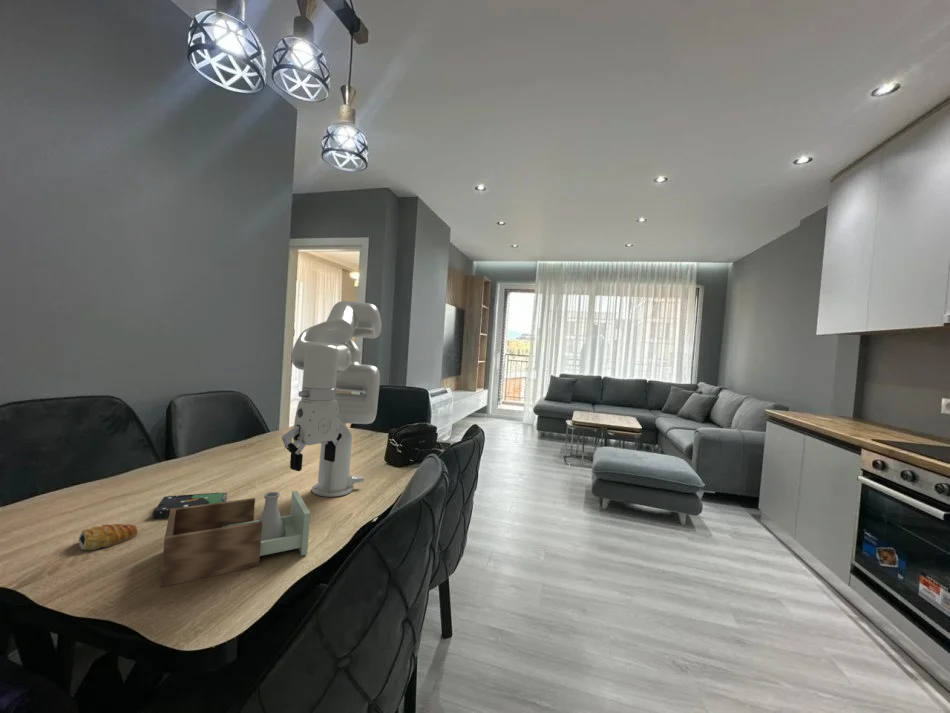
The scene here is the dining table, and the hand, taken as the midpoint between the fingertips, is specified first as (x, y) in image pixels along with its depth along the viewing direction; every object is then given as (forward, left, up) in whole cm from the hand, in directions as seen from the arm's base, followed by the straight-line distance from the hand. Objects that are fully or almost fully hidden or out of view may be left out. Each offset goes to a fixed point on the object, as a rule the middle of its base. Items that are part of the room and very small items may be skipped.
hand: (313, 465), depth 93 cm
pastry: (+39, -17, -18) cm, 46 cm away
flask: (+9, 0, -16) cm, 18 cm away
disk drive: (+23, -30, -19) cm, 42 cm away
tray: (+9, 0, -18) cm, 20 cm away
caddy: (+19, 0, -18) cm, 26 cm away
